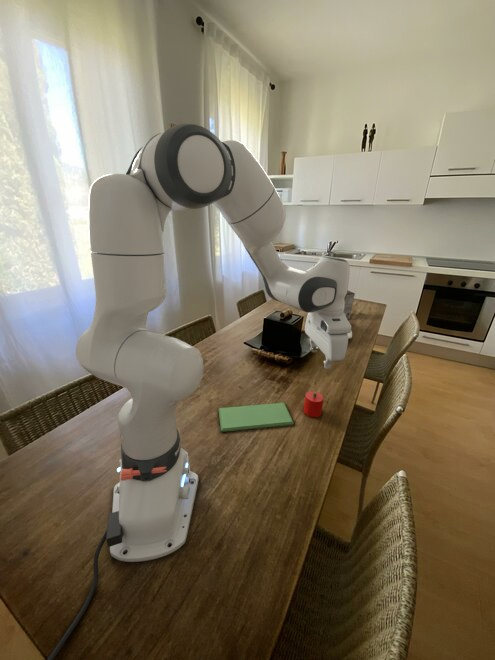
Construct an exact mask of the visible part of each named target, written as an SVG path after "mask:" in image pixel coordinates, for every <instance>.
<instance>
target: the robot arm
mask: <svg viewBox="0 0 495 660" xmlns="http://www.w3.org/2000/svg"><path fill="white" fill-rule="evenodd" d="M212 204H213V206H215V208H217V210H218V211H219V212H220V214H221V215H222V217H223V218H224V220H225V221H226V222H227V224H228V225H229V227H230V228H231V230H232V231H233V232H234V233H235V235H236V236H237V237H238V239H239V240H240V241H241V243H242V246H243V247H244V249H245V251H246V252H247V255H249V258H250V259H251V260H252V262H253V264H254V265H255V267H256V269H257V270H258V271H259V273H260V275H261V277H262V280H263V283H264V288H265V291H266V294H267V296H268V297H269V298H270V299H272V300H274V301H276V302H280V303H283V304H285V305H287V306H290V307H292V308H295V309H297V310H299V311H301V312H303V313H305V312H306V313H307V315H306V319H305V324H304V333H305V335H307V337H308V338H309V344H310V348H309V349H310V352H311V353H312V354H317V353H318V350H320V351H321V352H322V353H323V355H324V356H325V360H323V361H322V367H323V368H324V370H330V369H331V368H332V364H333V363H335V362H336V363H337V362H342V361H343V360H345V358H346V355H347V351H348V345H349V338H348V334H347V333H350V332H351V331H352V325H351V323H350V321H349V319H347V318H346V315H345V313H344V308H345V305H344V299H345V296H346V294H347V290H348V289H349V283H350V275H351V274H350V271H351V270H350V269H351V268H350V264H349V262H348V261H347V260H346V259H344V258H340V257H334V256H330V255H322V256H320V257H319V259H318V261H317V263H315V265H313V266H312V267H310V268H307V269H306V270H302V269H299V268H296V267H292V266H290V265H288V264H287V263H285V262H284V261H282V259H281V257H280V255H279V254H278V251H277V249H276V247H275V246H274V244H273V241H274V240H275V239H276V238H277V237H278V236H279V235H280V233H281V232H282V230H283V228H284V225H285V222H286V216H287V214H286V209H285V205H284V204H283V201H282V199H281V197H280V194H279V193H278V191H277V189H276V187H275V186H274V184H273V182H272V180H271V178H270V177H269V176H268V174H267V172H266V171H265V169H264V168H263V166H262V165H261V164H260V162H259V161H258V159H257V158H256V157H255V155H254V154H253V153H252V152H251V151H250V149H249V148H248V147H247V146H246V145H245V144H244V143H243V142H242V141H239V140H237V139H229V140H228V139H227V140H224V141H222V140H221V139H219V137H218V136H217V135H216V134H214V133H213V132H212V131H211V130H209V129H207V128H206V127H203V126H202V125H198V124H195V123H180V124H175V125H172V126H171V127H168V128H167V129H166V130H165V131H163V132H159V133H157V134H155V135H153V136H152V137H151V138H150V139H148V141H146V142H145V143H144V144H143V146H141V147H140V148H139V149H138V150H137V152H136V153H135V155H134V156H133V158H132V160H131V163H130V165H129V167H128V169H127V171H126V172H125V173H109V174H105V175H102V176H100V177H98V178H97V179H96V180H94V181H93V182H92V184H91V185H90V188H89V194H88V207H87V208H88V209H87V211H88V212H87V220H88V221H87V228H88V229H87V230H88V242H89V243H88V244H89V251H90V257H91V265H92V274H93V283H94V292H95V294H94V295H95V306H94V313H93V317H92V321H91V324H90V326H89V327H88V328H87V329H86V330H84V331H83V333H81V335H80V337H79V338H78V340H77V343H76V346H75V357H76V358H75V359H76V361H77V363H78V364H79V366H80V367H81V368H83V369H84V370H85V371H87V372H88V373H90V374H91V375H92V376H94V377H95V378H97V379H99V380H102V381H105V382H107V383H111V384H113V385H116V386H119V387H121V388H124V389H126V390H127V391H128V392H129V394H130V395H131V398H129V399H128V400H127V401H126V402H125V403H124V405H122V407H121V409H120V410H119V413H118V414H117V418H116V419H117V428H118V431H119V436H120V441H121V443H120V459H119V461H118V463H119V467H118V468H117V469H116V471H117V473H119V482H117V483H116V484H115V485H114V487H113V493H112V494H113V495H112V496H113V497H112V510H111V512H110V513H108V519H107V527H106V530H105V533H104V534H103V536H102V538H101V539H100V540H99V543H98V545H97V548H96V550H95V553H94V556H93V563H92V564H93V580H92V584H91V587H90V589H89V593H88V595H87V598H86V600H85V601H84V604H83V605H82V607H81V609H80V610H79V612H78V614H77V615H76V617H75V618H74V620H73V621H72V623H71V625H70V626H69V627H68V628H67V630H66V631H65V633H64V634H63V636H62V637H61V639H60V640H59V641H58V643H57V645H56V646H55V647H54V649H53V650H52V651H51V653H50V655H49V656H48V658H47V659H46V660H54V659H55V658H56V657H57V654H59V652H60V650H61V649H62V647H63V646H64V644H65V643H66V642H67V640H68V638H69V637H70V635H71V634H72V633H73V632H74V630H75V628H76V626H77V625H78V624H79V622H80V620H81V619H82V618H83V616H84V614H85V613H86V611H87V609H88V607H89V605H90V603H91V601H92V599H93V596H94V593H95V591H96V588H97V586H98V582H99V557H100V553H101V551H102V548H103V546H104V544H105V542H106V543H107V547H108V548H109V554H110V556H111V557H112V558H113V559H115V560H118V561H120V562H126V563H139V562H147V561H152V560H156V559H160V558H163V557H165V556H168V555H171V554H172V553H174V552H176V551H177V550H179V549H180V548H182V546H183V545H185V544H186V541H187V537H188V534H189V533H188V532H189V529H190V524H191V520H192V514H193V509H194V504H195V500H196V495H197V490H198V486H199V475H198V474H197V473H196V472H194V471H191V467H190V465H191V464H190V458H189V453H188V451H186V450H185V449H183V447H181V444H182V443H181V442H182V441H181V436H180V432H179V430H178V428H177V427H178V426H177V406H178V405H179V403H180V402H182V401H184V400H186V399H187V398H189V397H190V396H192V395H193V394H194V393H195V391H196V390H198V387H199V386H200V384H201V383H202V380H203V377H204V371H205V367H204V360H203V356H202V353H201V352H200V350H199V349H198V348H196V347H195V346H193V345H191V344H189V343H187V342H185V341H183V340H181V339H179V338H176V337H173V336H169V335H165V334H162V333H161V334H160V333H157V332H151V331H149V329H148V326H147V321H148V315H149V313H151V312H152V311H154V310H155V309H157V308H159V307H160V306H161V305H162V304H163V303H164V301H165V299H166V297H167V294H168V293H167V275H166V274H167V273H166V255H165V254H166V253H165V240H164V230H165V225H166V224H165V223H166V219H167V217H168V216H169V214H170V213H171V212H172V211H176V212H185V211H189V210H198V209H204V208H206V207H209V206H210V205H212ZM348 291H349V290H348Z"/></svg>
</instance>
